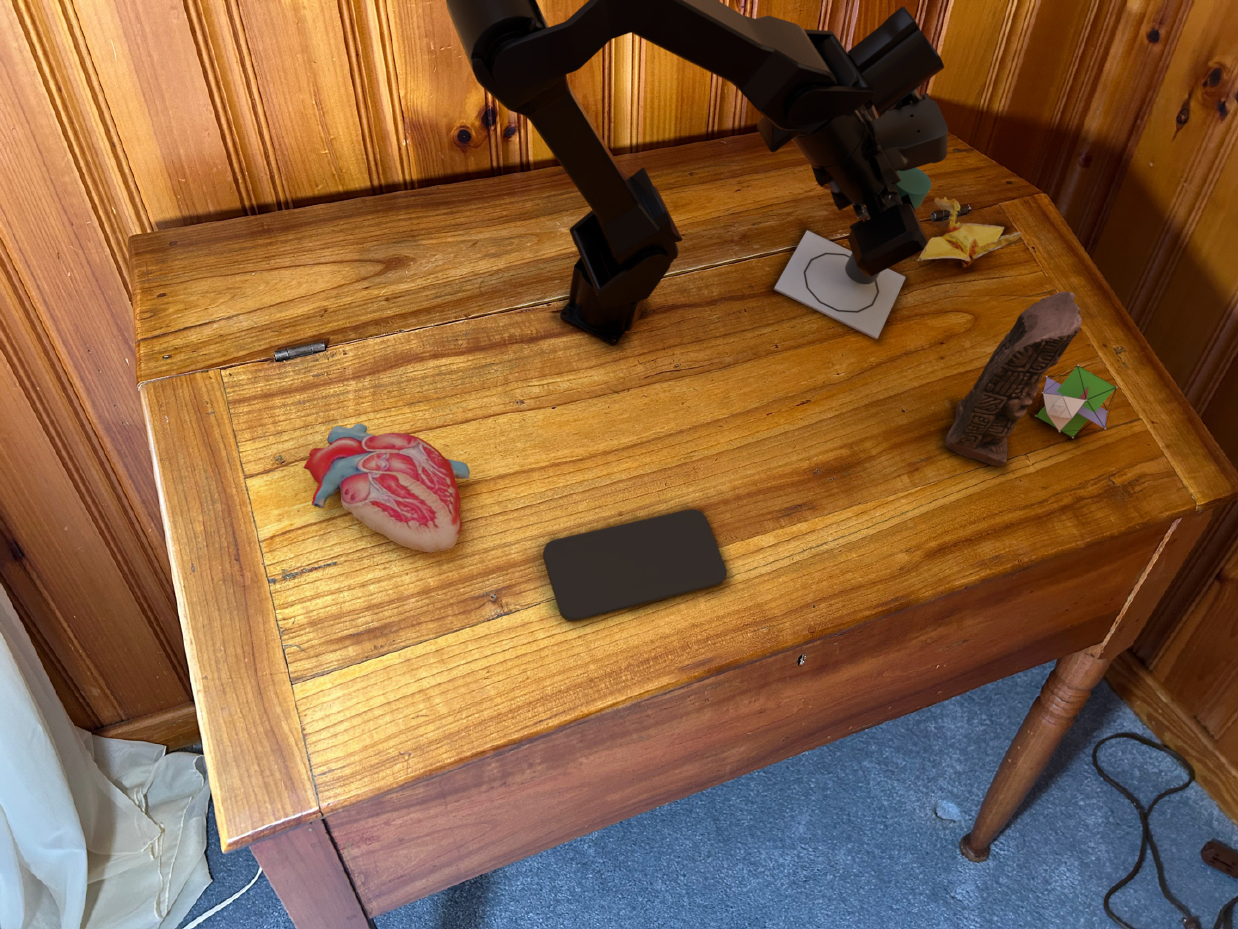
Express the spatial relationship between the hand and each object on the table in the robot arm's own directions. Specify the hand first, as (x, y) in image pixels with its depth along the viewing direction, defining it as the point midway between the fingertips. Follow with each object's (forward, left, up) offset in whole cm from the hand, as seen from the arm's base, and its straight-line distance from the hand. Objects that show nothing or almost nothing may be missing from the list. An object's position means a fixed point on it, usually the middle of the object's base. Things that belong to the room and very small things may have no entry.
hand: (897, 227), depth 94 cm
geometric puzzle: (+24, -6, -8) cm, 26 cm away
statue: (+16, -13, -8) cm, 22 cm away
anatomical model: (-28, -48, -8) cm, 57 cm away
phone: (-7, -43, -8) cm, 45 cm away
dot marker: (-1, -1, -7) cm, 7 cm away
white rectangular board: (-2, -2, -8) cm, 9 cm away
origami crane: (+8, +10, -8) cm, 15 cm away
